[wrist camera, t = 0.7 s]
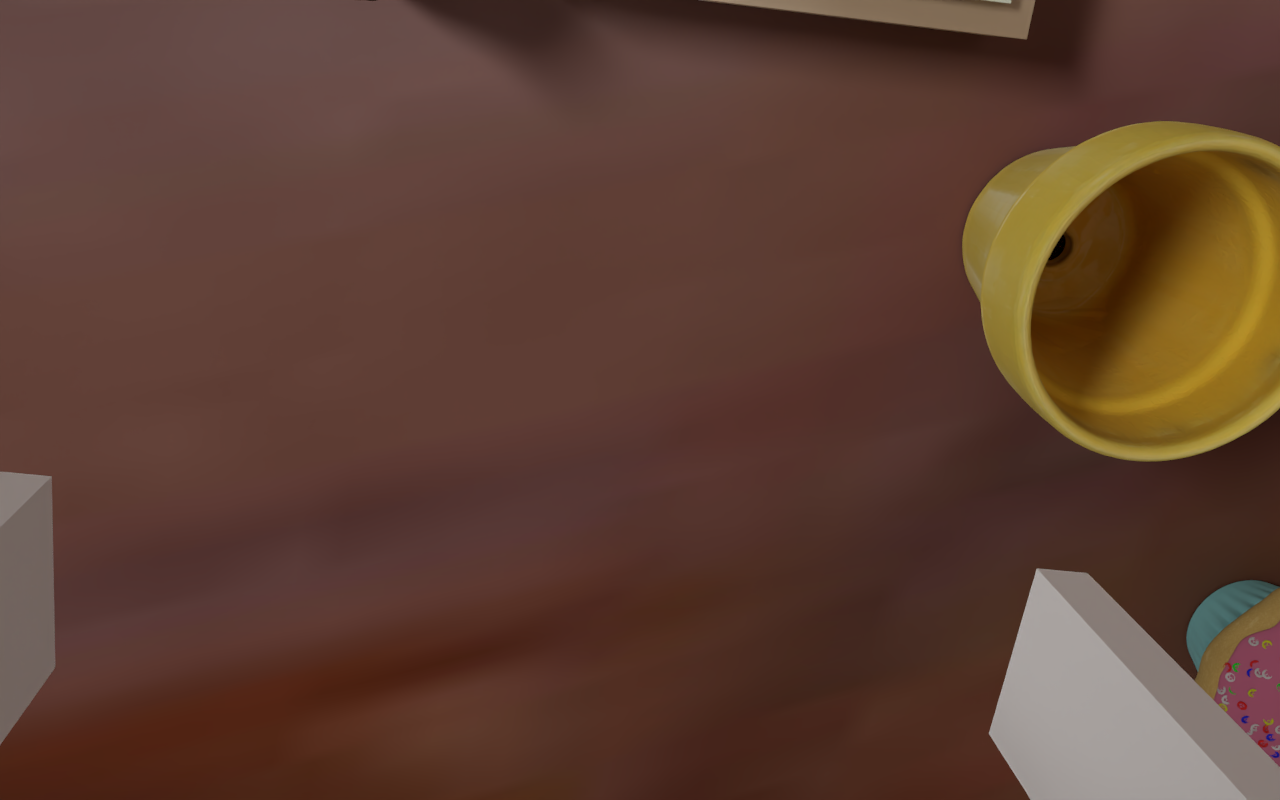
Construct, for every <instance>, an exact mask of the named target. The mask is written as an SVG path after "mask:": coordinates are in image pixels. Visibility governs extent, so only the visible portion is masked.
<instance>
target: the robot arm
mask: <svg viewBox="0 0 1280 800" xmlns="http://www.w3.org/2000/svg"><path fill="white" fill-rule="evenodd" d="M54 668H55V628H54V575H53V523H52V476H42V475H31V474H20V473H10V472H0V744H1V743H2V742H3V740H4V739H5V737H6V736H7V735H8V733H9V732H10V730H11V729H12V728H13V726H14V725H15V723H16V722H17V720H18V719H19V718H20V716H21V715H22V713H23V712H24V711H25V709H26V708H27V706H28V705H29V704H30V702H31V701H32V699H33V698H34V697H35V695H36V694H37V692H38V691H39V690H40V688H41V687H42V685H43V684H44V682H45V681H46V680H47V678H48V677H49V675H50V674H51V673H52V671H53V670H54ZM989 735H990V736H991V738H992V739H993V741H994V743H995V744H996V746H997V747H998V749H999V750H1000V752H1001V754H1002V755H1003V757H1004V758H1005V760H1006V761H1007V763H1008V764H1009V766H1010V768H1011V769H1012V771H1013V772H1014V774H1015V775H1016V777H1017V779H1018V780H1019V782H1020V783H1021V785H1022V786H1023V788H1024V790H1025V791H1026V793H1027V794H1028V796H1029V797H1030V799H1031V800H1280V767H1279V766H1278V765H1277V764H1276V763H1275V762H1274V761H1273V760H1272V759H1271V758H1270V757H1269V756H1268V755H1267V754H1266V753H1265V752H1264V751H1263V750H1262V749H1261V748H1260V747H1259V746H1258V745H1257V744H1256V743H1255V742H1254V741H1253V740H1252V739H1251V738H1250V737H1249V736H1248V735H1247V734H1246V733H1245V732H1244V730H1243V729H1242V728H1241V727H1240V726H1239V725H1238V724H1237V723H1236V722H1235V721H1234V720H1233V719H1232V718H1231V717H1230V716H1229V715H1228V714H1227V713H1226V712H1225V711H1224V710H1223V709H1222V708H1221V707H1220V706H1219V705H1218V704H1217V703H1216V702H1215V701H1214V700H1213V699H1212V698H1211V697H1210V696H1209V695H1208V694H1207V693H1206V692H1205V691H1204V690H1203V689H1202V688H1201V687H1200V686H1199V685H1198V684H1197V683H1196V682H1195V681H1194V680H1193V679H1192V678H1191V677H1190V676H1189V675H1188V674H1187V673H1186V672H1185V671H1184V670H1183V669H1182V668H1181V667H1180V666H1179V665H1178V664H1177V663H1176V662H1175V661H1174V660H1173V659H1172V658H1171V657H1170V656H1169V655H1168V654H1167V653H1166V652H1165V651H1164V650H1163V649H1162V648H1161V647H1160V646H1159V645H1158V644H1157V643H1156V642H1155V641H1154V640H1153V639H1152V638H1151V637H1150V636H1149V635H1148V634H1147V633H1146V632H1145V631H1144V630H1143V629H1142V628H1141V627H1140V626H1139V625H1138V624H1137V623H1136V622H1135V621H1134V620H1133V619H1132V618H1131V617H1130V616H1129V615H1128V614H1127V613H1126V612H1125V611H1124V610H1123V609H1122V608H1121V607H1120V606H1119V605H1118V603H1117V602H1116V601H1115V600H1114V599H1113V598H1112V597H1111V596H1110V595H1109V594H1108V593H1107V592H1106V591H1105V590H1104V589H1103V588H1102V587H1101V586H1100V585H1099V584H1098V583H1097V582H1096V581H1095V580H1094V579H1093V578H1092V577H1091V576H1090V575H1089V574H1088V573H1080V572H1070V571H1059V570H1048V569H1037V570H1036V573H1035V577H1034V580H1033V584H1032V587H1031V590H1030V594H1029V597H1028V601H1027V604H1026V608H1025V611H1024V615H1023V618H1022V621H1021V625H1020V628H1019V632H1018V635H1017V639H1016V642H1015V646H1014V649H1013V652H1012V656H1011V659H1010V663H1009V666H1008V670H1007V673H1006V677H1005V680H1004V683H1003V687H1002V690H1001V694H1000V697H999V701H998V704H997V708H996V711H995V715H994V718H993V721H992V725H991V728H990V732H989Z"/></svg>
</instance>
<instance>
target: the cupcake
mask: <svg viewBox="0 0 1280 800" xmlns="http://www.w3.org/2000/svg"><path fill="white" fill-rule="evenodd" d="M1187 647H1188V651H1189V653H1190V656H1191V658H1192V660H1193V662H1194V664H1195V666H1196V669H1197V671H1198V674H1197V676H1196V679H1195V682H1196V683H1197V684H1198V685H1199V686H1200V687H1201V688H1202V689H1203V690H1204V691H1205V692H1206V693H1207V694H1208V695H1209V696H1210V697H1211V698H1212V699H1213V700H1214V701H1215V702H1216V703H1217V704H1218V705H1219V706H1220V707H1221V708H1222V709H1223V710H1224V711H1225V712H1226V713H1227V714H1228V715H1229V716H1230V717H1231V718H1232V719H1233V720H1234V721H1235V722H1236V723H1237V724H1238V725H1239V726H1240V727H1241V728H1242V729H1243V730H1244V732H1245V733H1246V734H1247V735H1248V736H1249V737H1250V738H1251V739H1252V740H1253V741H1254V742H1255V743H1256V744H1257V745H1258V746H1259V747H1260V748H1261V749H1262V750H1263V751H1264V752H1265V753H1266V754H1267V755H1268V756H1269V757H1270V758H1271V759H1272V760H1273V761H1274V762H1275V763H1276V764H1277V765H1278V766H1279V767H1280V587H1278V586H1275V585H1273V584H1270V583H1267V582H1263V581H1257V580H1245V581H1239V582H1235V583H1231V584H1229V585H1226V586H1224V587H1222V588H1220V589H1218V590H1217V591H1215V592H1214V593H1212V594H1211V595H1210V596H1208V597H1207V598H1206V599H1205V600H1204V601H1203V602H1202V603H1201V604H1200V606H1199V607H1198V608H1197V609H1196V611H1195V612H1194V614H1193V616H1192V618H1191V620H1190V623H1189V626H1188V630H1187Z"/></svg>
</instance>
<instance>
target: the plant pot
mask: <svg viewBox="0 0 1280 800" xmlns="http://www.w3.org/2000/svg"><path fill="white" fill-rule="evenodd" d="M1063 234H1064V236H1065V242H1066V243H1065V248H1064V250H1063V251H1062V253H1061V254H1060V255H1059V256H1058V257H1056V258H1054V259H1052V260H1049V261H1048V259H1049V257H1050V255H1051V253H1052V251H1053V249H1054V247H1055V246H1056V244H1057V243H1058V241H1059V239H1060V238H1061V236H1062V235H1063ZM962 251H963V262H964V267H965V272H966V275H967V277H968V280H969V282H970V284H971V286H972V288H973V290H974V292H975V294H976V295H977V297H978V299H979V301H980V303H981V315H982V323H983V328H984V333H985V337H986V341H987V344H988V347H989V349H990V352H991V354H992V356H993V359H994V361H995V363H996V365H997V367H998V368H999V370H1000V371H1001V373H1002V374H1003V376H1004V377H1005V379H1006V380H1007V381H1008V383H1009V384H1010V385H1011V386H1012V387H1013V389H1014V390H1015V391H1016V392H1017V393H1018V394H1019V395H1020V396H1021V397H1022V398H1023V399H1024V401H1025V402H1026V403H1027V404H1028V405H1029V406H1030V407H1031V408H1032V409H1034V410H1035V411H1036V412H1037V413H1038V414H1039V415H1040V416H1041V417H1042V418H1044V419H1045V420H1046V421H1047V422H1048V423H1049V424H1050V425H1052V426H1053V427H1054V428H1055V429H1056V430H1058V431H1059V432H1060V433H1062V434H1063V435H1064V436H1066V437H1067V438H1069V439H1070V440H1072V441H1074V442H1075V443H1077V444H1079V445H1081V446H1083V447H1085V448H1087V449H1089V450H1091V451H1094V452H1097V453H1100V454H1103V455H1106V456H1110V457H1114V458H1118V459H1124V460H1132V461H1166V460H1174V459H1180V458H1185V457H1189V456H1193V455H1197V454H1201V453H1204V452H1207V451H1210V450H1213V449H1215V448H1217V447H1220V446H1222V445H1224V444H1227V443H1229V442H1231V441H1233V440H1235V439H1237V438H1238V437H1240V436H1242V435H1244V434H1246V433H1248V432H1249V431H1251V430H1252V429H1254V428H1255V427H1257V426H1258V425H1260V424H1261V423H1263V422H1264V421H1265V420H1267V419H1268V418H1269V417H1270V416H1272V415H1273V414H1274V413H1275V412H1276V411H1277V410H1278V409H1280V146H1277V145H1275V144H1273V143H1271V142H1268V141H1266V140H1263V139H1261V138H1258V137H1254V136H1251V135H1247V134H1243V133H1240V132H1236V131H1232V130H1227V129H1222V128H1218V127H1212V126H1207V125H1201V124H1194V123H1184V122H1173V121H1157V122H1146V123H1139V124H1133V125H1128V126H1124V127H1121V128H1117V129H1114V130H1111V131H1108V132H1105V133H1103V134H1100V135H1098V136H1095V137H1093V138H1091V139H1089V140H1087V141H1085V142H1083V143H1081V144H1079V145H1077V146H1074V147H1063V148H1055V149H1047V150H1042V151H1038V152H1035V153H1032V154H1029V155H1027V156H1024V157H1022V158H1020V159H1018V160H1016V161H1014V162H1012V163H1011V164H1009V165H1008V166H1007V167H1005V168H1004V169H1002V170H1001V171H1000V172H999V173H998V174H997V175H996V176H995V177H993V178H992V179H991V180H990V182H989V183H988V184H987V185H986V186H985V188H984V189H983V190H982V192H981V193H980V194H979V196H978V197H977V199H976V200H975V202H974V204H973V206H972V207H971V209H970V212H969V215H968V218H967V221H966V224H965V228H964V233H963V240H962Z"/></svg>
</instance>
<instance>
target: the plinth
mask: <svg viewBox="0 0 1280 800" xmlns="http://www.w3.org/2000/svg"><path fill="white" fill-rule="evenodd" d="M700 1H708V2H716V3H724V4H732V5H741V6H749V7H757V8H765V9H773V10H781V11H790V12H798V13H806V14H814V15H822V16H830V17H838V18H847V19H855V20H863V21H871V22H879V23H887V24H895V25H904V26H912V27H920V28H928V29H936V30H944V31H952V32H961V33H969V34H977V35H985V36H996V37H1006V38H1017V39H1027V36H1028V31H1029V27H1030V22H1031V18H1032V13H1033V8H1034V4H1035V0H700Z"/></svg>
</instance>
